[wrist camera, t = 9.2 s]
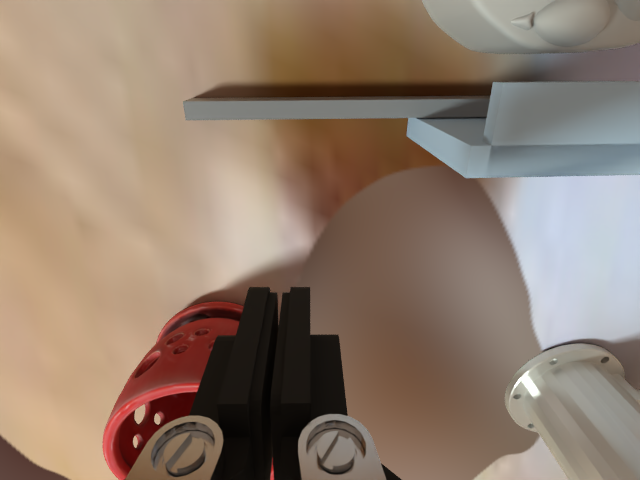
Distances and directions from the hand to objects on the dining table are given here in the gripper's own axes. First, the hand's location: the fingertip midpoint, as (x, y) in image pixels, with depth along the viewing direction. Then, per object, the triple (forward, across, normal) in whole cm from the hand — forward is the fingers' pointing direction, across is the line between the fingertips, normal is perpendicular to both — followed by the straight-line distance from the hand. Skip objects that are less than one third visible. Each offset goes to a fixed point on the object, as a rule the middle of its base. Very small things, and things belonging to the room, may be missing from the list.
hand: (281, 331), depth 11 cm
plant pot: (+22, +7, +18) cm, 29 cm away
